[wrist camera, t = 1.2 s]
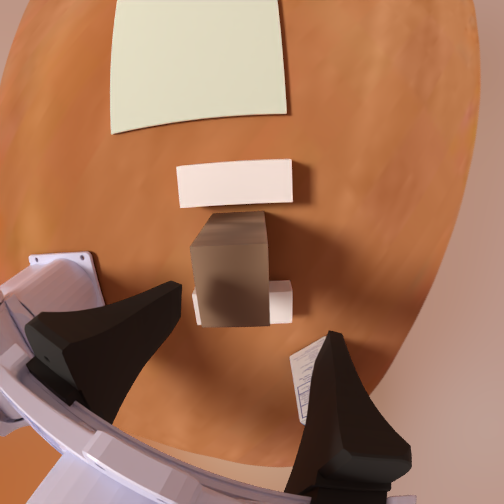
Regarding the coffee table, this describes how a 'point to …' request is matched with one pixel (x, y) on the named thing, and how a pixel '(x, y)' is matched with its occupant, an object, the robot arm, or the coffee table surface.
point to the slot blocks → (241, 192)
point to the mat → (194, 61)
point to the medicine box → (304, 375)
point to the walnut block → (232, 270)
